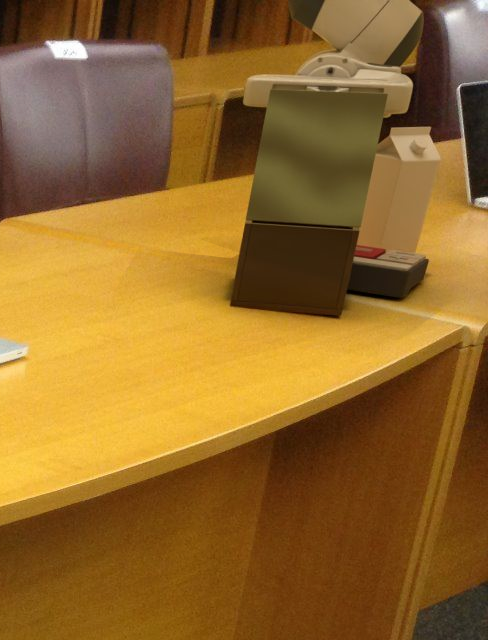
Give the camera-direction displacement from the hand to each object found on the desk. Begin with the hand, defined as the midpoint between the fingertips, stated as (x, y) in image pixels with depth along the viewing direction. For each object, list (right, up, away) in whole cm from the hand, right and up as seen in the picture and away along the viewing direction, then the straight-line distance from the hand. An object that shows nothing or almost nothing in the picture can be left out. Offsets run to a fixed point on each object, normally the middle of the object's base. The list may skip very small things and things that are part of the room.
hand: (325, 98), depth 197 cm
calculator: (+15, -19, +18) cm, 31 cm away
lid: (-3, -9, -2) cm, 9 cm away
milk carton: (+25, -11, +35) cm, 44 cm away
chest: (-1, -24, +9) cm, 26 cm away
